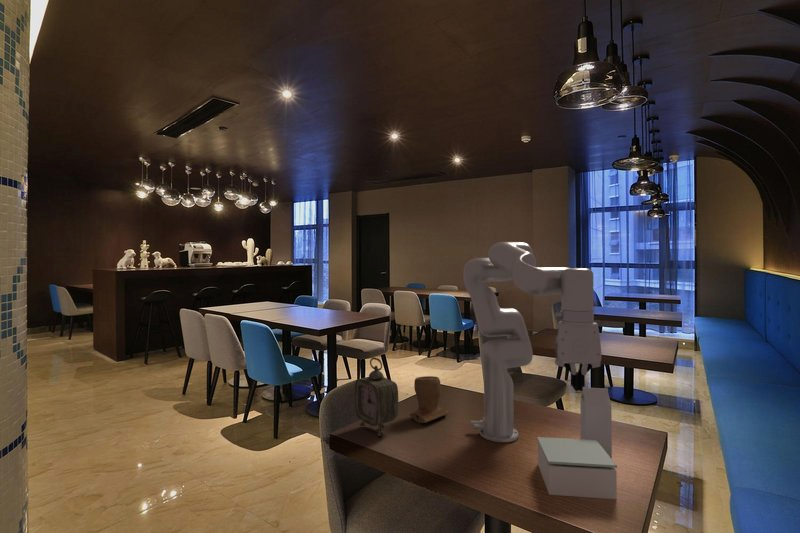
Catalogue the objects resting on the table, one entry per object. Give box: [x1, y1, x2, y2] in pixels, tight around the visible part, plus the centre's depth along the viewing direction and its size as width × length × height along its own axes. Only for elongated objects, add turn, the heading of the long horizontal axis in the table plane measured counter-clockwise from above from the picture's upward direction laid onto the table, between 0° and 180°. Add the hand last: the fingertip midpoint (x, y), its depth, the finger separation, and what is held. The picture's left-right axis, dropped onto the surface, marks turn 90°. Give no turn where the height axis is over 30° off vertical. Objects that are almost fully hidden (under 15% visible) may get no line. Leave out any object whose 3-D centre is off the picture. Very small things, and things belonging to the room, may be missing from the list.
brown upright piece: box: [409, 375, 449, 424], centre depth 155 cm, size 15×12×15 cm
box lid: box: [536, 436, 618, 469], centre depth 109 cm, size 16×16×1 cm
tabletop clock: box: [354, 357, 400, 437], centre depth 143 cm, size 14×9×25 cm, turn 38°
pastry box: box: [537, 441, 618, 500], centre depth 109 cm, size 16×16×7 cm
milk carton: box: [579, 387, 613, 457], centre depth 126 cm, size 7×7×19 cm
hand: (577, 389), depth 105 cm, fingers closed
